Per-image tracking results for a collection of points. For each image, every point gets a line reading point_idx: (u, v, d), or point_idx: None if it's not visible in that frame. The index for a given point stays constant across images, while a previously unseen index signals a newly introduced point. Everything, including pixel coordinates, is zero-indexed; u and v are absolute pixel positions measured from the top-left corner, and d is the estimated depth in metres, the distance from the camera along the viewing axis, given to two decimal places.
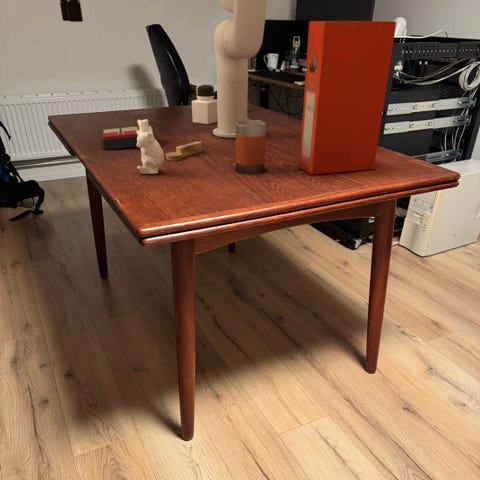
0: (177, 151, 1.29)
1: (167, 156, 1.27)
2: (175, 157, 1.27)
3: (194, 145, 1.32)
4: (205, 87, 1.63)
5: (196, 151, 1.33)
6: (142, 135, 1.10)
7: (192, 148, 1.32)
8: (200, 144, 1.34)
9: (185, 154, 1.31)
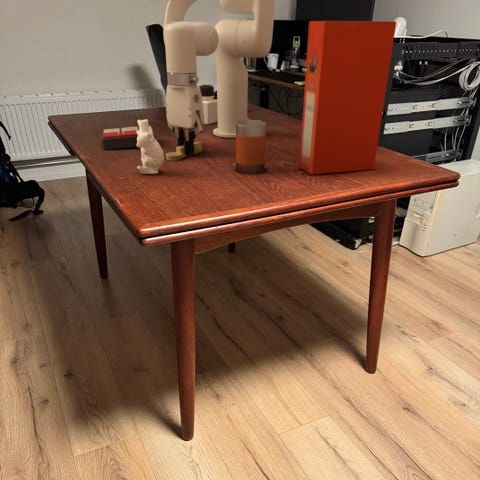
0: (177, 151, 1.29)
1: (167, 156, 1.27)
2: (175, 157, 1.27)
3: (194, 145, 1.32)
4: (205, 87, 1.63)
5: (196, 151, 1.33)
6: (142, 135, 1.10)
7: None
8: (200, 144, 1.34)
9: None
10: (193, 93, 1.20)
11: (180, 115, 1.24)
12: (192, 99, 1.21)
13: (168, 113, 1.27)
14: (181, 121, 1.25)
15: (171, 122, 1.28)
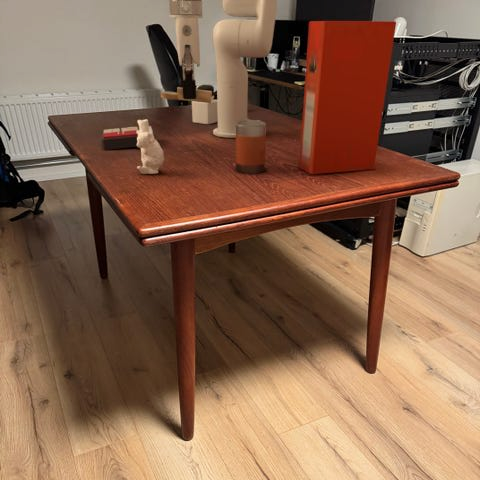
0: (177, 92, 1.18)
1: (161, 92, 1.18)
2: (164, 95, 1.16)
3: (199, 92, 1.18)
4: (205, 87, 1.63)
5: (201, 100, 1.19)
6: (142, 135, 1.10)
7: None
8: (209, 93, 1.18)
9: None
10: (182, 24, 1.07)
11: None
12: (180, 31, 1.07)
13: None
14: (178, 57, 1.13)
15: None
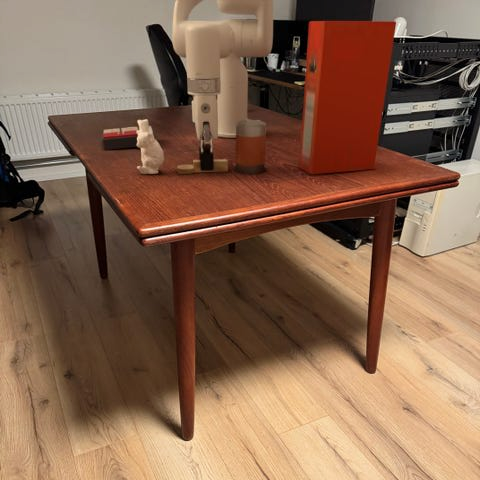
0: (193, 165, 1.18)
1: None
2: (181, 170, 1.17)
3: (215, 162, 1.17)
4: None
5: (218, 169, 1.18)
6: (142, 135, 1.10)
7: None
8: (225, 163, 1.18)
9: (200, 170, 1.18)
10: (201, 102, 1.06)
11: (195, 124, 1.12)
12: (199, 108, 1.07)
13: None
14: (196, 131, 1.13)
15: None
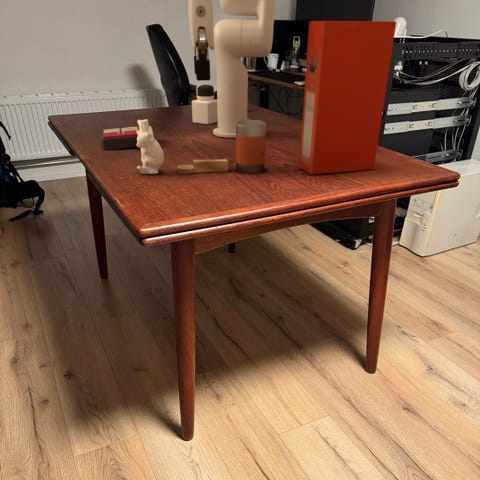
0: (193, 165, 1.18)
1: None
2: (181, 170, 1.17)
3: (215, 162, 1.17)
4: (205, 87, 1.63)
5: (218, 169, 1.18)
6: (142, 135, 1.10)
7: (211, 165, 1.18)
8: (225, 163, 1.18)
9: (200, 170, 1.18)
10: (196, 4, 1.01)
11: (190, 33, 1.07)
12: (194, 11, 1.02)
13: None
14: (191, 40, 1.08)
15: None
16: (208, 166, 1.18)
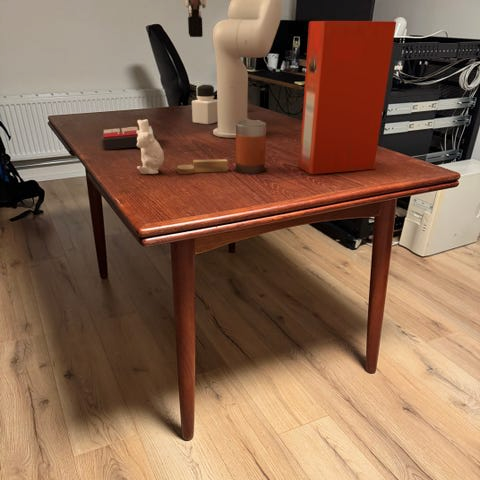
0: (193, 165, 1.18)
1: None
2: (181, 170, 1.17)
3: (215, 162, 1.17)
4: (205, 87, 1.63)
5: (218, 169, 1.18)
6: (142, 135, 1.10)
7: (211, 165, 1.18)
8: (225, 163, 1.18)
9: (200, 170, 1.18)
10: None
11: None
12: None
13: None
14: None
15: None
16: (208, 166, 1.18)
